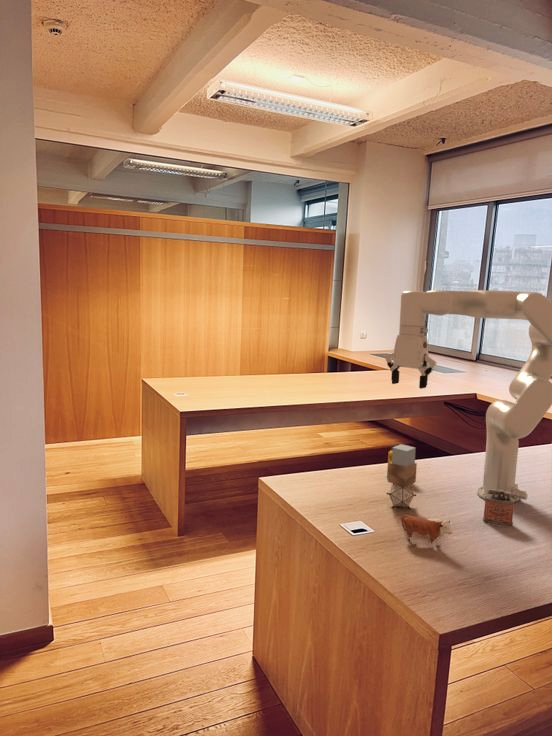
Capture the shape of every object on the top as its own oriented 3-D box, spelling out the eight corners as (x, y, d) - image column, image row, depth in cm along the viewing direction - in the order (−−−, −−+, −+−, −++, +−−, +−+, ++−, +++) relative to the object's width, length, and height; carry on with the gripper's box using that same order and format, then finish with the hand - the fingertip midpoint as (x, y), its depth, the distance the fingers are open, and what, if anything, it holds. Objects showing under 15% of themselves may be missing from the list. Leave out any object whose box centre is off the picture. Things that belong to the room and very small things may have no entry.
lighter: (512, 522, 159) (515, 490, 157) (513, 527, 156) (516, 494, 154) (482, 518, 162) (485, 486, 160) (482, 523, 158) (485, 490, 157)
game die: (403, 516, 171) (420, 489, 173) (407, 517, 163) (424, 489, 164) (378, 499, 173) (395, 472, 174) (381, 500, 165) (399, 472, 166)
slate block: (414, 463, 167) (415, 447, 166) (406, 467, 163) (407, 451, 163) (400, 459, 170) (400, 444, 170) (391, 463, 167) (392, 447, 166)
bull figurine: (449, 555, 140) (451, 525, 138) (398, 541, 147) (400, 512, 145) (454, 548, 143) (456, 519, 142) (404, 535, 150) (405, 507, 149)
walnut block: (415, 482, 168) (416, 463, 167) (405, 487, 164) (406, 467, 163) (398, 477, 172) (399, 458, 171) (387, 481, 168) (388, 463, 167)
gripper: (443, 332, 166) (440, 388, 169) (393, 328, 178) (391, 380, 181) (431, 334, 161) (428, 391, 163) (381, 329, 172) (378, 383, 175)
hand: (408, 385), depth 172 cm, fingers open, 9 cm apart
